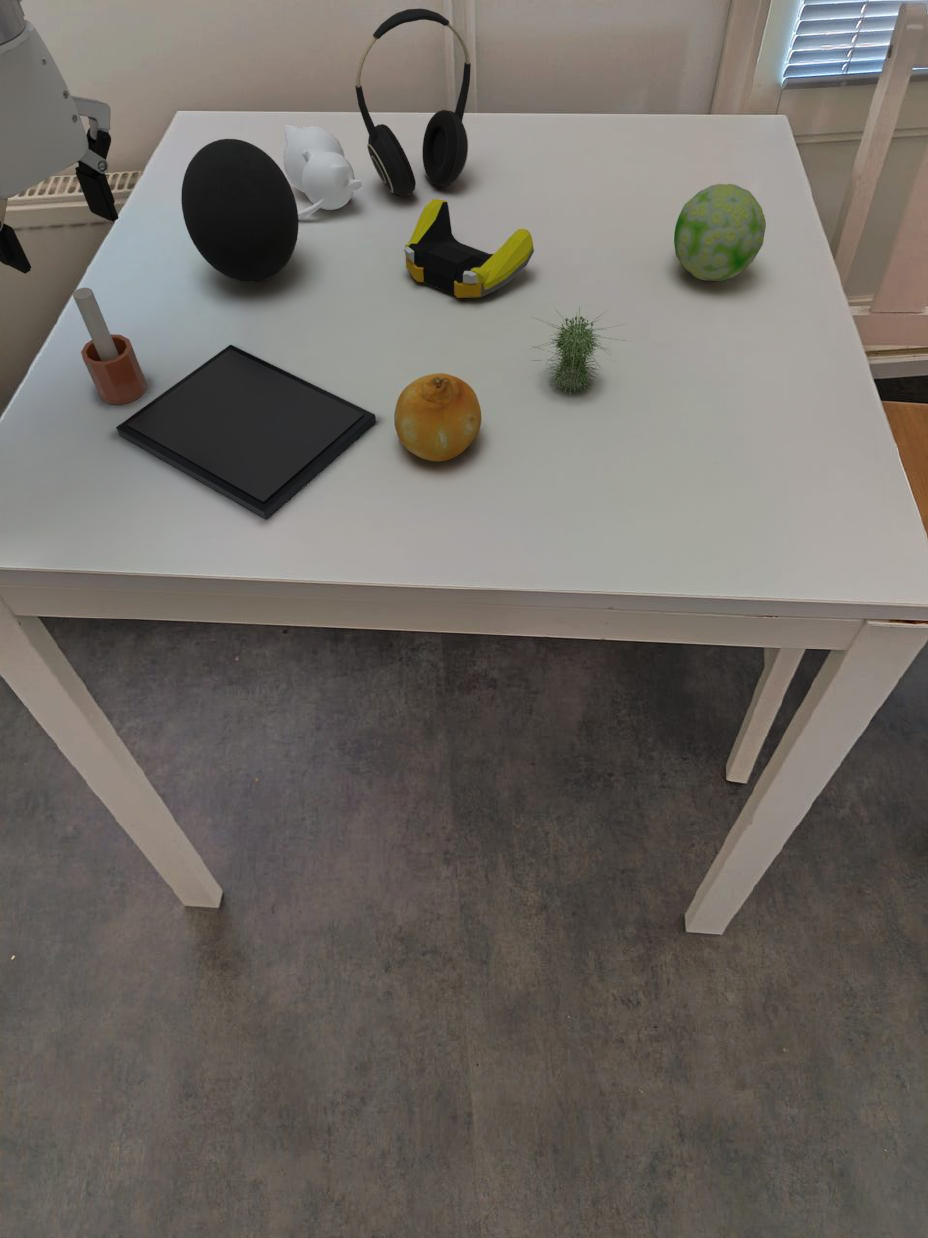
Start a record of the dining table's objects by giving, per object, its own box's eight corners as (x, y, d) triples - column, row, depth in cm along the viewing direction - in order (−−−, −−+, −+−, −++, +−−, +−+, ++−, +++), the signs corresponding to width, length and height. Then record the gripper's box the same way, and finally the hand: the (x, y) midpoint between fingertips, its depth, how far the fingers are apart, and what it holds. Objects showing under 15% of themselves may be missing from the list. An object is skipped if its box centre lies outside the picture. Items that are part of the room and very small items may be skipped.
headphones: (356, 185, 112) (335, 8, 95) (457, 160, 115) (454, -14, 99) (379, 216, 107) (362, 35, 91) (484, 189, 111) (486, 11, 94)
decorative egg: (329, 266, 101) (308, 134, 89) (260, 318, 95) (228, 185, 83) (251, 235, 105) (222, 105, 93) (180, 284, 99) (139, 152, 87)
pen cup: (121, 410, 86) (103, 370, 82) (90, 393, 88) (71, 352, 84) (156, 385, 88) (141, 344, 84) (125, 368, 90) (108, 328, 86)
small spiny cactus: (636, 421, 84) (649, 358, 78) (516, 424, 84) (519, 361, 78) (621, 346, 91) (632, 283, 85) (510, 348, 91) (512, 286, 85)
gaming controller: (435, 234, 104) (385, 273, 100) (433, 190, 100) (381, 228, 95) (538, 273, 99) (490, 315, 94) (541, 228, 95) (491, 270, 90)
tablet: (266, 519, 77) (263, 510, 76) (118, 435, 84) (114, 425, 83) (376, 422, 84) (375, 412, 83) (232, 351, 91) (229, 342, 90)
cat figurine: (339, 141, 99) (303, 97, 105) (276, 207, 102) (244, 160, 108) (381, 192, 106) (345, 149, 112) (321, 253, 109) (289, 207, 115)
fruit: (470, 470, 77) (471, 379, 74) (385, 466, 78) (382, 377, 75) (486, 452, 84) (487, 369, 81) (407, 448, 86) (405, 366, 83)
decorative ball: (769, 283, 97) (796, 197, 89) (699, 308, 95) (719, 222, 87) (717, 242, 102) (737, 157, 94) (648, 264, 100) (663, 179, 92)
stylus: (120, 393, 87) (81, 300, 78) (109, 386, 87) (68, 294, 79) (134, 384, 88) (96, 291, 79) (122, 377, 88) (83, 285, 80)
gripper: (31, -31, 66) (110, 186, 80) (-173, 48, 58) (-46, 274, 72) (94, -12, 64) (164, 209, 78) (-110, 75, 56) (9, 303, 70)
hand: (63, 240), depth 75 cm, fingers open, 9 cm apart
